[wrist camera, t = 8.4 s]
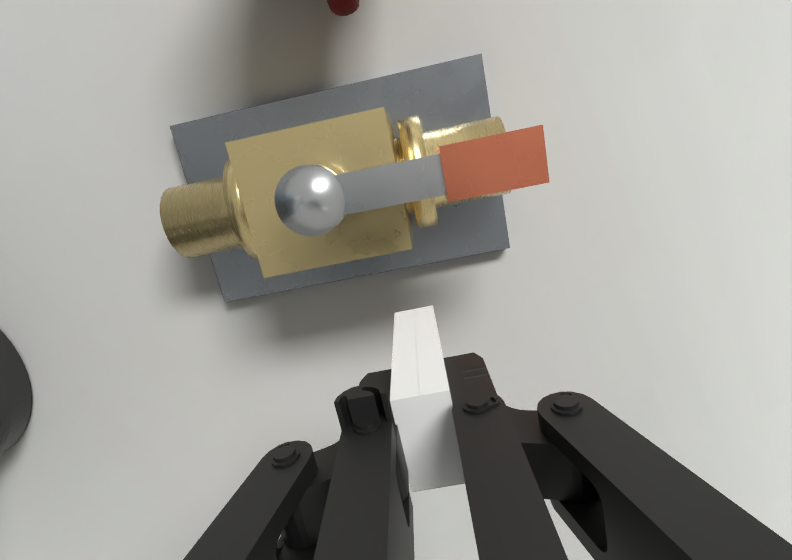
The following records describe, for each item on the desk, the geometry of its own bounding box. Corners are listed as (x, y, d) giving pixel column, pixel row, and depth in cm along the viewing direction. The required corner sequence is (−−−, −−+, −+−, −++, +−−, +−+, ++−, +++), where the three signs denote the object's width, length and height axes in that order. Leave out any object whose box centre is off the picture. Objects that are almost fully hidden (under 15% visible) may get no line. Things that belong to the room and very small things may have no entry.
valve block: (230, 297, 33) (173, 340, 25) (177, 127, 30) (94, 116, 22) (507, 244, 31) (536, 273, 23) (479, 57, 28) (502, 19, 20)
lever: (297, 234, 23) (283, 243, 21) (281, 171, 23) (264, 173, 20) (535, 187, 22) (550, 191, 20) (527, 119, 21) (541, 114, 19)
